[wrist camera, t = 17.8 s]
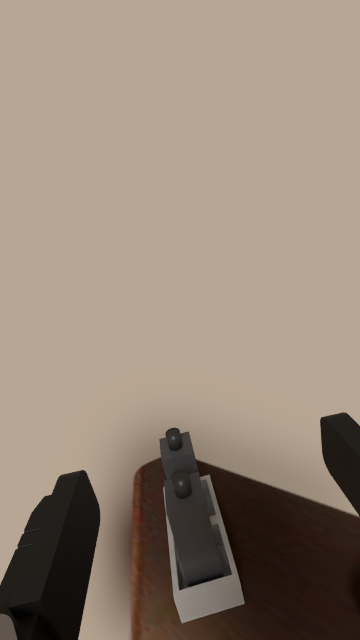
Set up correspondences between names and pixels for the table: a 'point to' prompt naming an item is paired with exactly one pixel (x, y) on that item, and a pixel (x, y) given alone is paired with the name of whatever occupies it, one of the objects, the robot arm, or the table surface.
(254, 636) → the table surface
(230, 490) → the table surface
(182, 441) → the twin plug
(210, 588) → the grey rectangular tray
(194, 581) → the plug
